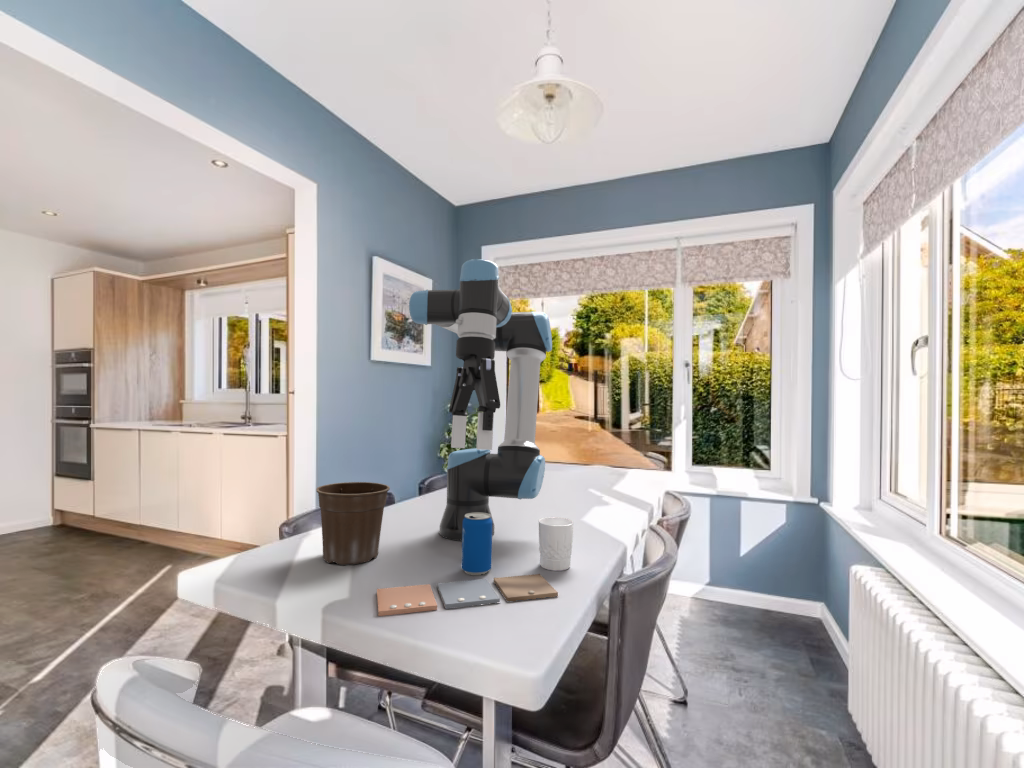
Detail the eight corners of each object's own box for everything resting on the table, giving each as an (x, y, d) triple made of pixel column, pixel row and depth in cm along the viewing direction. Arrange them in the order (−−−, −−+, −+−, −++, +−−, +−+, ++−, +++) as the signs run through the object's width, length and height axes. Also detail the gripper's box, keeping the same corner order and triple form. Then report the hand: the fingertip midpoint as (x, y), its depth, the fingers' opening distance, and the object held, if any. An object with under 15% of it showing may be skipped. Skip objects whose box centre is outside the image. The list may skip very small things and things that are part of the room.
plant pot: (373, 542, 124) (375, 479, 124) (398, 560, 111) (400, 489, 111) (306, 553, 114) (308, 484, 115) (325, 574, 101) (327, 496, 102)
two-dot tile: (437, 587, 96) (437, 582, 96) (486, 582, 99) (486, 577, 99) (445, 608, 86) (445, 603, 86) (499, 603, 89) (499, 597, 89)
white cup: (550, 557, 115) (551, 515, 115) (579, 565, 110) (580, 521, 110) (530, 566, 109) (531, 521, 109) (560, 574, 104) (560, 527, 104)
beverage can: (458, 567, 107) (459, 512, 107) (486, 564, 109) (487, 511, 110) (465, 578, 101) (467, 520, 101) (495, 574, 103) (496, 517, 104)
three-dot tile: (376, 593, 92) (376, 587, 92) (429, 588, 95) (429, 583, 95) (378, 616, 83) (378, 610, 83) (437, 609, 86) (437, 604, 86)
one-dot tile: (493, 582, 99) (493, 577, 99) (539, 577, 102) (539, 572, 102) (507, 602, 89) (507, 596, 89) (557, 596, 92) (557, 591, 92)
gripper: (438, 347, 104) (431, 446, 101) (483, 322, 82) (476, 449, 79) (470, 351, 107) (465, 448, 105) (522, 329, 85) (517, 451, 82)
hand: (470, 448), depth 92 cm, fingers open, 13 cm apart
